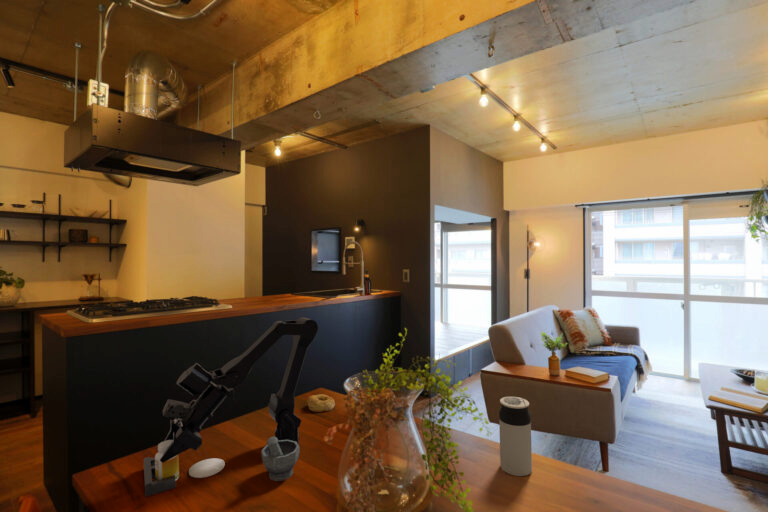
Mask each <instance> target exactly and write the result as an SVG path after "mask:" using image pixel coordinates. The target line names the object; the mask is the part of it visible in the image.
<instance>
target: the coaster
mask: <svg viewBox="0 0 768 512" xmlns="http://www.w3.org/2000/svg"><path fill="white" fill-rule="evenodd" d="M225 465H226V464H225V461H224V460H223V459H221V458H215V457H213V458H206V459H203V460H201V461H198V462H196V463H194V464H193V465H191V467H190V468H189V470H188V475H189V477H192V478H196V479H202V478H203V479H204V478H207V477H211V476H214V475H216V474H217V473H219V472H222V470H223V469H224V467H225Z"/></svg>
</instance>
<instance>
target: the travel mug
mask: <svg viewBox="0 0 768 512" xmlns="http://www.w3.org/2000/svg"><path fill="white" fill-rule="evenodd" d="M499 403H500V404H501V405H500V407H501V408H500V409H499V411H498V414H499V415H498V416H499V417H498V418H499V419H498V420H499V423H498V424H499V454H500V455H499V459H500V463H499V464H500V468H501V470H502V471H504V472H505V473H506V474H509V475H512V476H515V477H524V476H528V475H531V473H532V472H533V463H532V462H533V457H532V456H533V455H532V453H533V452H532V420H531V418H532V417H531V415H532V414H531V413H530V411H529V406H530V402H529V401H528V399H525V398H523V397H518V396H504V397H502V398H500V399H499Z"/></svg>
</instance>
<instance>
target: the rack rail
mask: <svg viewBox="0 0 768 512" xmlns="http://www.w3.org/2000/svg"><path fill="white" fill-rule="evenodd" d="M143 471H144V472H143V474H144V475H143V476H144V477H143V478H144V497H145V498H147V497H150V496H153V495H156V494H160V493H164V492H166V491H169V490H174V489H176V481H175V475H173V476H170V477H167V478H163V479H160V480H156V481H155V480H154V481H153V479H155V456H154V457H151V456H148V457H144V458H143Z"/></svg>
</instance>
